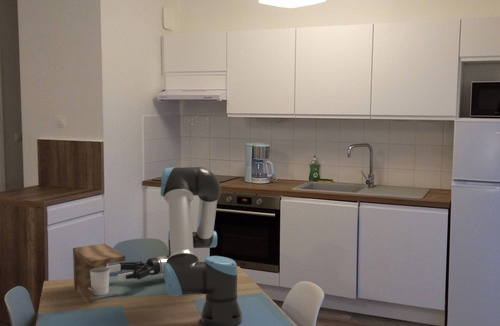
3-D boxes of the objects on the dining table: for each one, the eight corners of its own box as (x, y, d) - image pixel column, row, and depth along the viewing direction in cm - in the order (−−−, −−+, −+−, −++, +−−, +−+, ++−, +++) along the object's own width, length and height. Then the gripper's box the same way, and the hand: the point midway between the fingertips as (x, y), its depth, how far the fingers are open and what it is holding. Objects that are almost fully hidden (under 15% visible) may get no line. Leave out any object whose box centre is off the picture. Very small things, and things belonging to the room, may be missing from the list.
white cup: (86, 295, 229) (86, 271, 228) (97, 288, 237) (96, 266, 236) (103, 296, 227) (102, 273, 226) (113, 290, 235) (113, 267, 234)
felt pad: (108, 288, 240) (108, 287, 240) (117, 295, 231) (117, 294, 231) (83, 293, 233) (83, 291, 233) (91, 300, 224) (91, 299, 224)
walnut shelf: (105, 283, 247) (104, 243, 245) (126, 298, 227) (125, 255, 225) (73, 289, 239) (72, 248, 237) (91, 305, 219) (90, 261, 217)
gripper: (170, 281, 238) (123, 290, 226) (145, 267, 258) (101, 275, 246) (170, 264, 237) (123, 272, 225) (145, 251, 257) (101, 258, 245)
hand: (111, 273), depth 235 cm, fingers open, 13 cm apart
